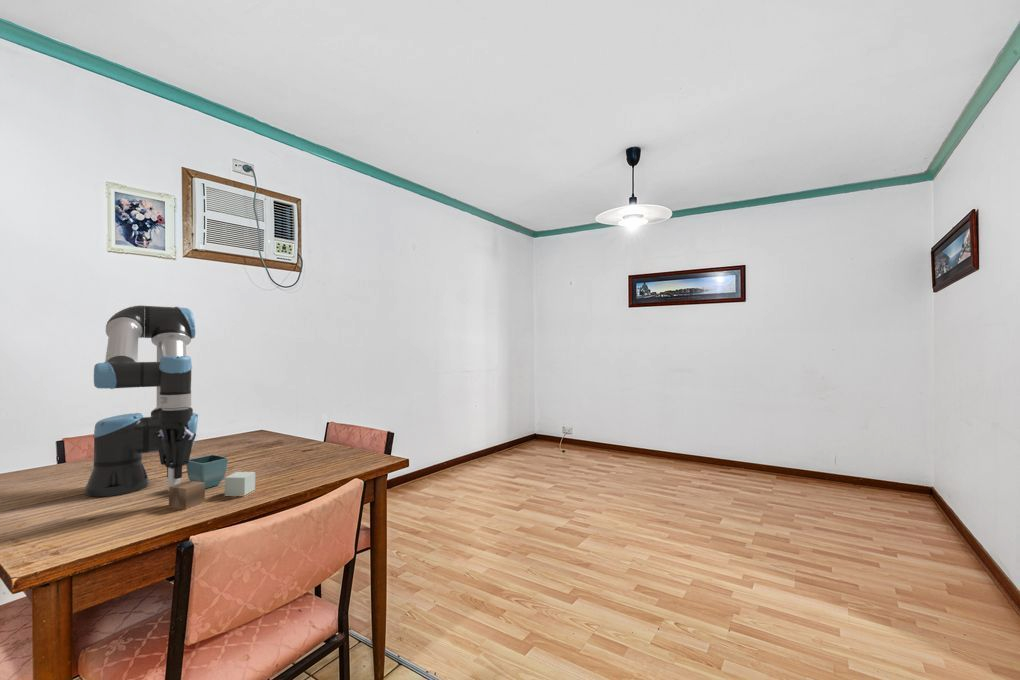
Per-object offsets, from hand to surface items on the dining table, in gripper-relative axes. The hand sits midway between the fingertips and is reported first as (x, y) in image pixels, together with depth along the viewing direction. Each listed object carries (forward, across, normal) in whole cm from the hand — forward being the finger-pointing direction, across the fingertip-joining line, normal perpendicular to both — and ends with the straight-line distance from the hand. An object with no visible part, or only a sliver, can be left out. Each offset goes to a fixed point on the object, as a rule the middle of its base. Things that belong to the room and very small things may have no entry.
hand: (174, 489), depth 133 cm
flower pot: (+4, -5, +15) cm, 17 cm away
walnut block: (+1, +2, 0) cm, 2 cm away
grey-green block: (+4, +11, +12) cm, 17 cm away
